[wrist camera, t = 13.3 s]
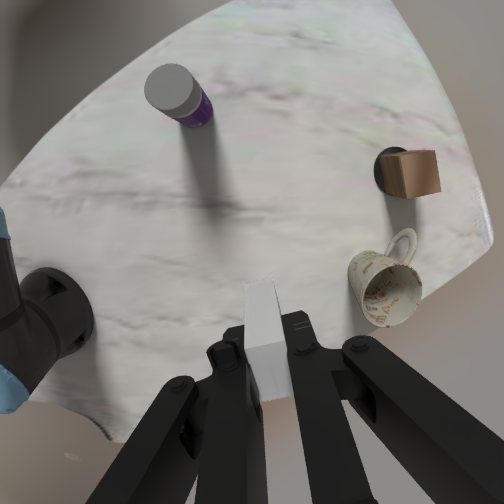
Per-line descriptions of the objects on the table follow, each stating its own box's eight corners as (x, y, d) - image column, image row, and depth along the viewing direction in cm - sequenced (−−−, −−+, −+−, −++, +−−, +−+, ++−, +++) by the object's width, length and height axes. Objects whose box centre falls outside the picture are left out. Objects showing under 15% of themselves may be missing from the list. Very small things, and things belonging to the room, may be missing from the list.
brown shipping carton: (385, 193, 41) (407, 199, 35) (379, 156, 40) (400, 156, 34) (416, 186, 41) (441, 191, 35) (410, 150, 40) (434, 150, 33)
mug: (329, 283, 46) (348, 314, 36) (371, 206, 43) (403, 219, 33) (373, 304, 47) (398, 336, 37) (414, 232, 44) (450, 251, 34)
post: (378, 200, 43) (400, 207, 36) (369, 150, 41) (390, 150, 34) (419, 190, 42) (444, 196, 35) (411, 143, 40) (436, 142, 34)
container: (220, 108, 39) (205, 82, 25) (196, 134, 40) (169, 121, 26) (194, 87, 38) (168, 52, 24) (170, 113, 39) (132, 91, 25)
